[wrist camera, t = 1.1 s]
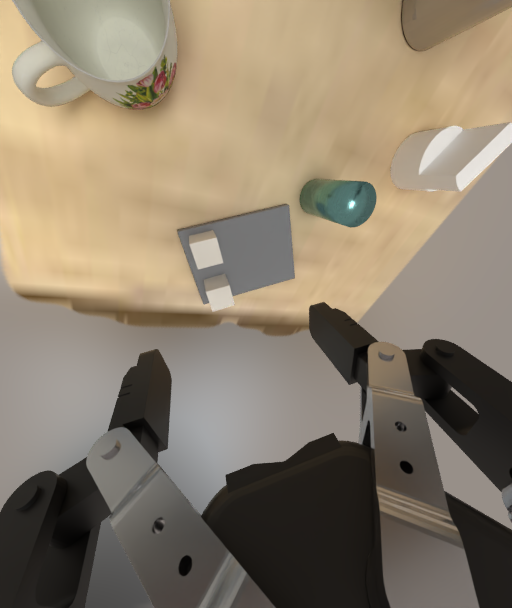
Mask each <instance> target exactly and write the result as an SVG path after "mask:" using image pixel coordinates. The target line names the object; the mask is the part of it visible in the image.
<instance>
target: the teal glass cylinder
mask: <svg viewBox="0 0 512 608" xmlns="http://www.w3.org/2000/svg"><path fill="white" fill-rule="evenodd" d="M375 204H376V192H375V189H374V187H373V186H372V185H371V184H370V183H368V182H361V181H342V180H322V179H314V180H311V181H309V182H308V183H307V184H306V185H305V186H304V187H303V189H302V191H301V194H300V205H301V207H302V209H303V210H304V211H305V212H306V213H309V214H312V215H315V216H318V217H321V218H324V219H327V220H330V221H333V222H336V223H339V224H342V225H345V226H348V227H357V226H359V225H361V224H363V223H364V222H365V221H366V220H367V219H368V218H369V217H370V216H371V214H372V212H373V210H374V208H375Z"/></svg>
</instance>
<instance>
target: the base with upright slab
mask: <svg viewBox="0 0 512 608" xmlns="http://www.w3.org/2000/svg"><path fill="white" fill-rule="evenodd" d="M511 143H512V123H511V122H510V123H503V124H497V125H490V126H484V127H477V128H471V129H464V130H463V129H462V128H461V127H459V126H450V127H445V128H439V129H433V130H427V131H422V132H416V133H413V134H412V135H410V136H408V137H407V138H406V139H405V140H404V141H403V142H402V143H401V145H400V146H399V147H398V149H397V151H396V153H395V155H394V158H393V161H392V164H391V179H392V182H393V184H394V185H395V186H396V187H397V188H399V189H407V190H420V191H436V190H446V191H462V190H463V189H464V188H465V187H466V186H467V185H468V184H469V183H470V182H471V181H472V180H473V179H474V178H475V177H477V176H478V175H479V174H480V173H481V172H482V171H483V170H484V169H485V168H486V167H487V166H488V165H489V164H490V163H491V162H492V161H493V160H494V159H495V158H496V157H497V156H498V155H500V154H501V153H502V152H503V151H504V150H505V149H506V148H507V147H508V146H509V145H510V144H511Z"/></svg>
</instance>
